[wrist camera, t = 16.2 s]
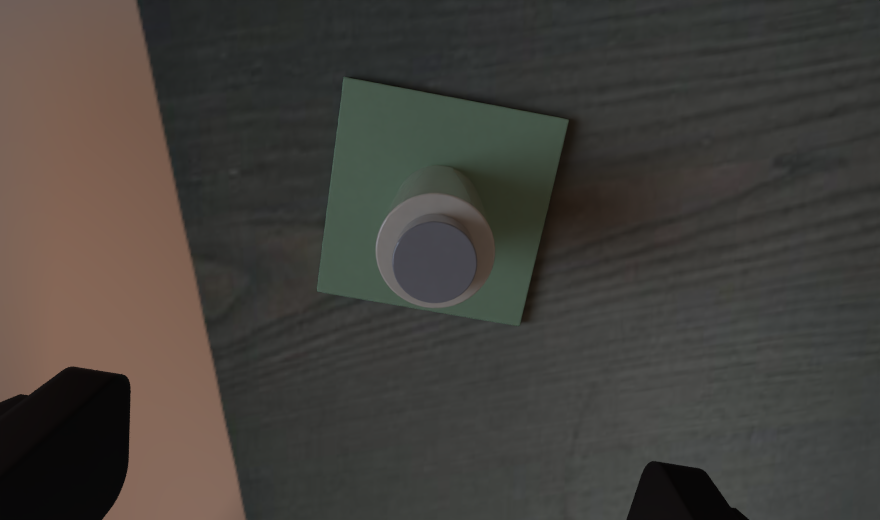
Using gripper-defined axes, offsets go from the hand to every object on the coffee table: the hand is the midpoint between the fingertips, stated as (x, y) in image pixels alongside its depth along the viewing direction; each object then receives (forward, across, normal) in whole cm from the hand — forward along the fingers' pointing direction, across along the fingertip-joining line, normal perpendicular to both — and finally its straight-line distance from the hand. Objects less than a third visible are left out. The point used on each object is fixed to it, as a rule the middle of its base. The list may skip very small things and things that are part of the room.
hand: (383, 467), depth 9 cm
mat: (+24, -1, 0) cm, 24 cm away
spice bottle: (+23, -1, 0) cm, 23 cm away
